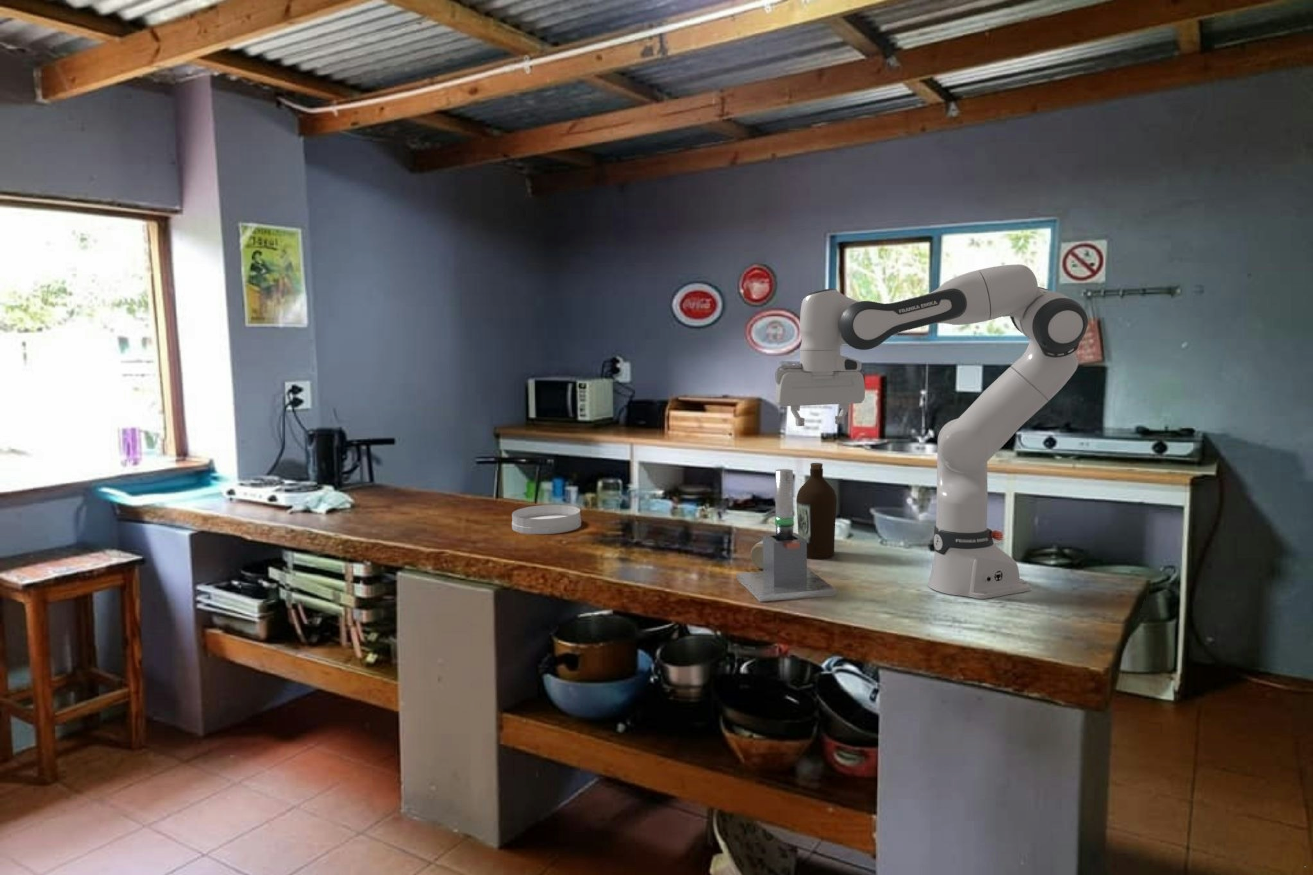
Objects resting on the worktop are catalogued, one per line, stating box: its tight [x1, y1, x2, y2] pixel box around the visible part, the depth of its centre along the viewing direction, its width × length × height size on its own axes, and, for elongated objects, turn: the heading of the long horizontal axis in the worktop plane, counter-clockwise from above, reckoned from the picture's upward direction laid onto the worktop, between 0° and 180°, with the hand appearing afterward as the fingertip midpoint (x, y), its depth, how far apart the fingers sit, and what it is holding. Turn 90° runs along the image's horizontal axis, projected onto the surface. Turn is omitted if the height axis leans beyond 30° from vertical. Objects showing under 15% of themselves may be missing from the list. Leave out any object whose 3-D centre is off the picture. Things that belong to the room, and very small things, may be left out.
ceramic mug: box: [750, 540, 763, 571], centre depth 211 cm, size 11×8×8 cm
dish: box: [511, 504, 582, 535], centre depth 265 cm, size 22×22×5 cm
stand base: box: [736, 531, 837, 603], centre depth 195 cm, size 18×18×12 cm
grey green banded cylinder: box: [774, 468, 795, 541], centre depth 193 cm, size 4×4×18 cm
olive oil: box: [796, 462, 838, 560], centre depth 222 cm, size 11×11×25 cm
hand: (819, 425), depth 185 cm, fingers open, 8 cm apart
